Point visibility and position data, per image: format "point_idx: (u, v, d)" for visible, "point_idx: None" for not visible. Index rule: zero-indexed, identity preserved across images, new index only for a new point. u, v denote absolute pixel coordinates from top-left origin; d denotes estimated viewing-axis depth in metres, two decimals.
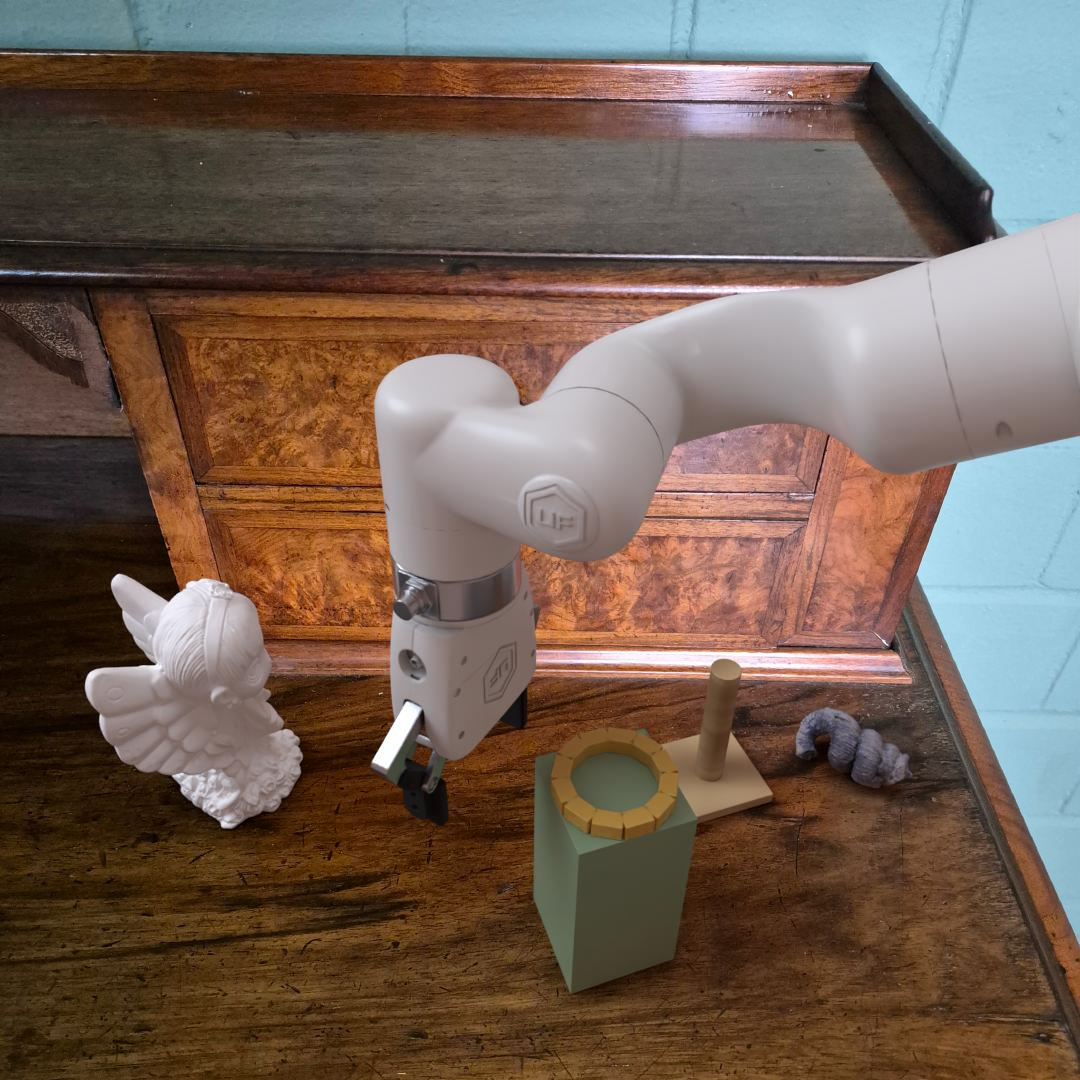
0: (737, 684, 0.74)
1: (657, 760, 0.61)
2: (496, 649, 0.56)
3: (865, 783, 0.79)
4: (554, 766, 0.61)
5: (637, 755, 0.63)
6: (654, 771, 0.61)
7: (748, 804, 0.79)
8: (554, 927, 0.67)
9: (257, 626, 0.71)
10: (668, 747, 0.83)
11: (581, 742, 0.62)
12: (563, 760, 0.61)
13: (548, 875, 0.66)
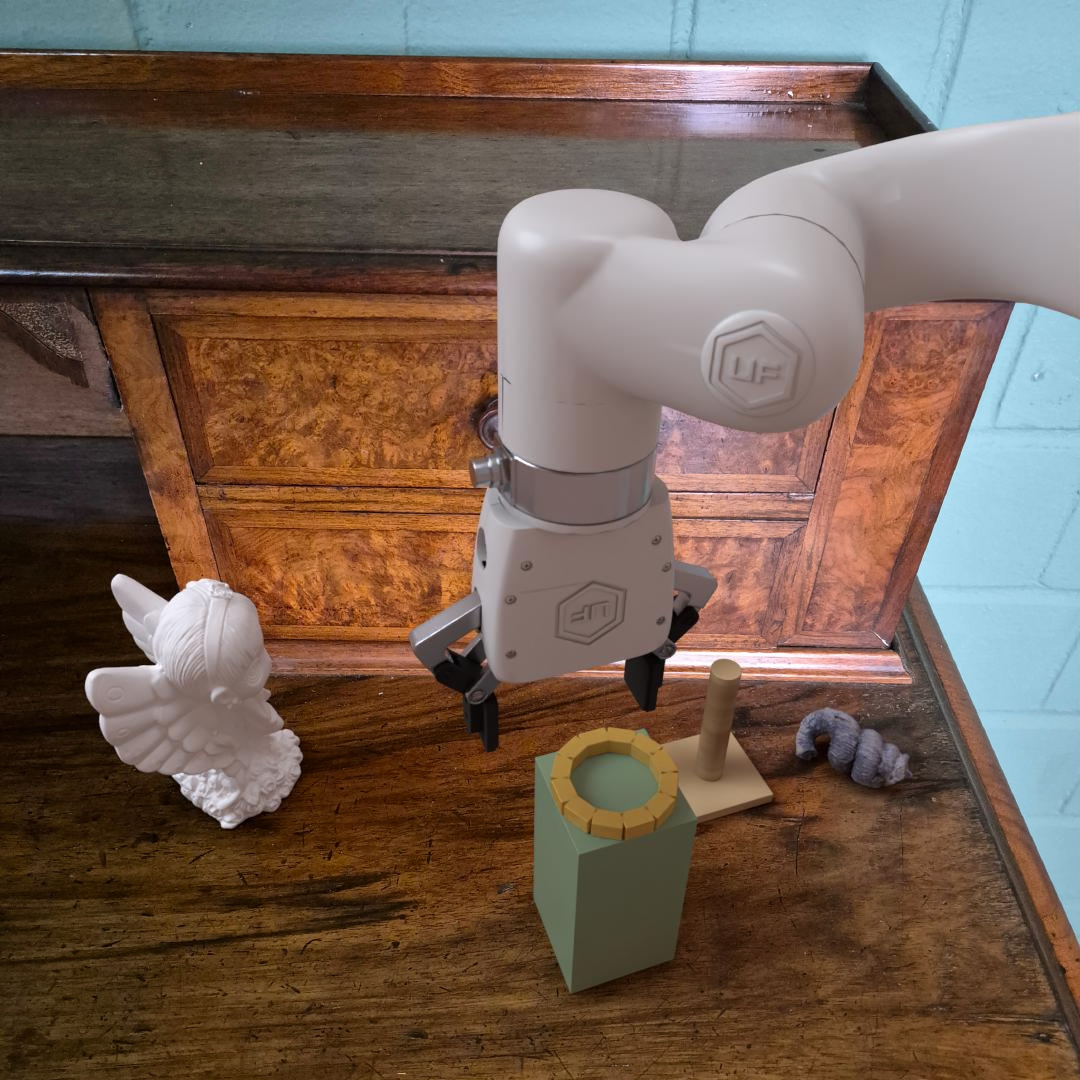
0: (737, 684, 0.74)
1: (657, 760, 0.61)
2: (586, 580, 0.46)
3: (865, 783, 0.79)
4: (554, 766, 0.61)
5: (637, 755, 0.63)
6: (654, 771, 0.61)
7: (748, 804, 0.79)
8: (554, 927, 0.67)
9: (257, 626, 0.71)
10: (668, 747, 0.83)
11: (581, 742, 0.62)
12: (563, 760, 0.61)
13: (548, 875, 0.66)
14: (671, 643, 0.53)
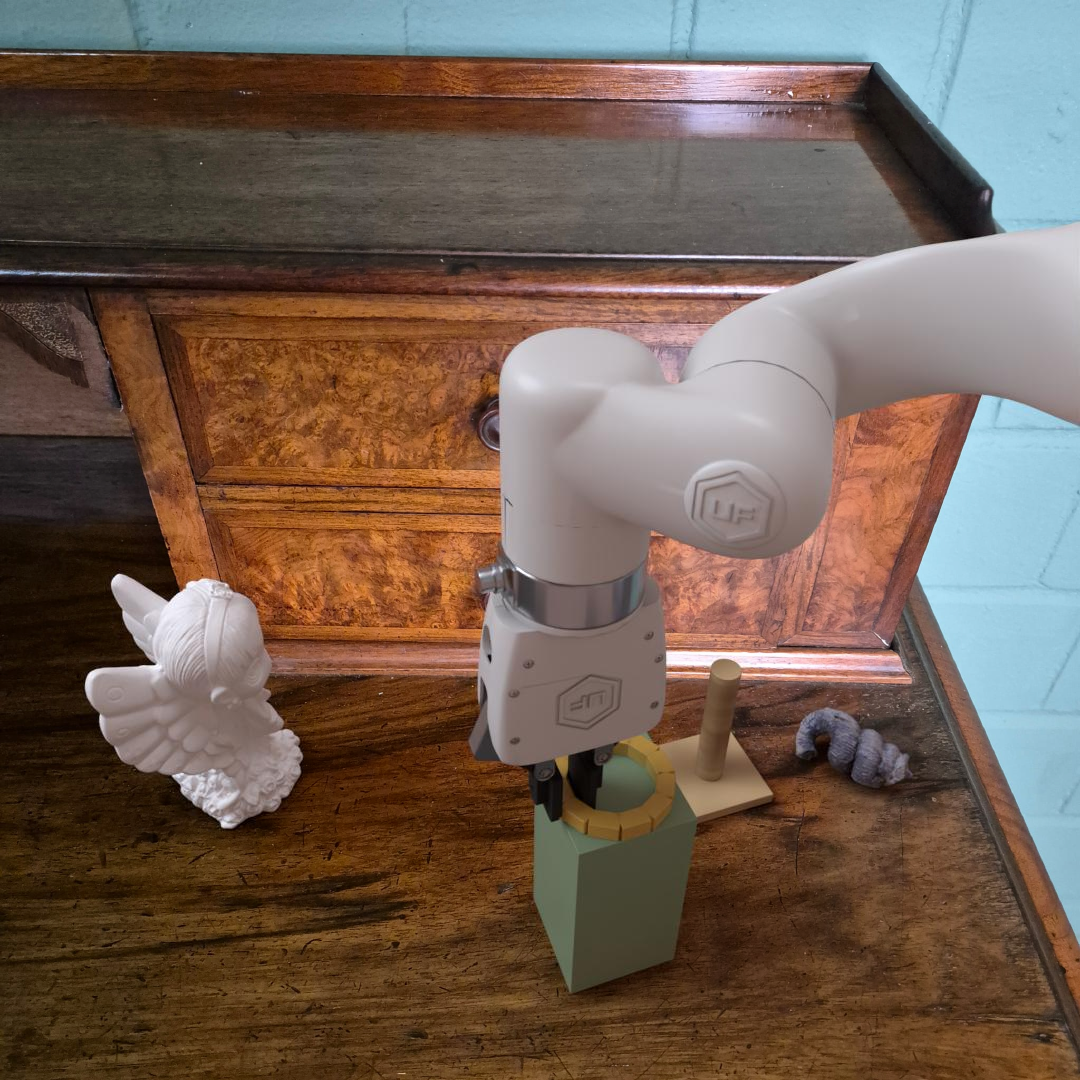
0: (737, 684, 0.74)
1: (654, 761, 0.61)
2: (583, 674, 0.50)
3: (865, 783, 0.79)
4: None
5: (634, 756, 0.63)
6: (651, 772, 0.61)
7: (748, 804, 0.79)
8: (554, 927, 0.67)
9: (257, 626, 0.71)
10: (668, 747, 0.83)
11: None
12: (560, 761, 0.61)
13: (548, 875, 0.66)
14: (606, 751, 0.56)
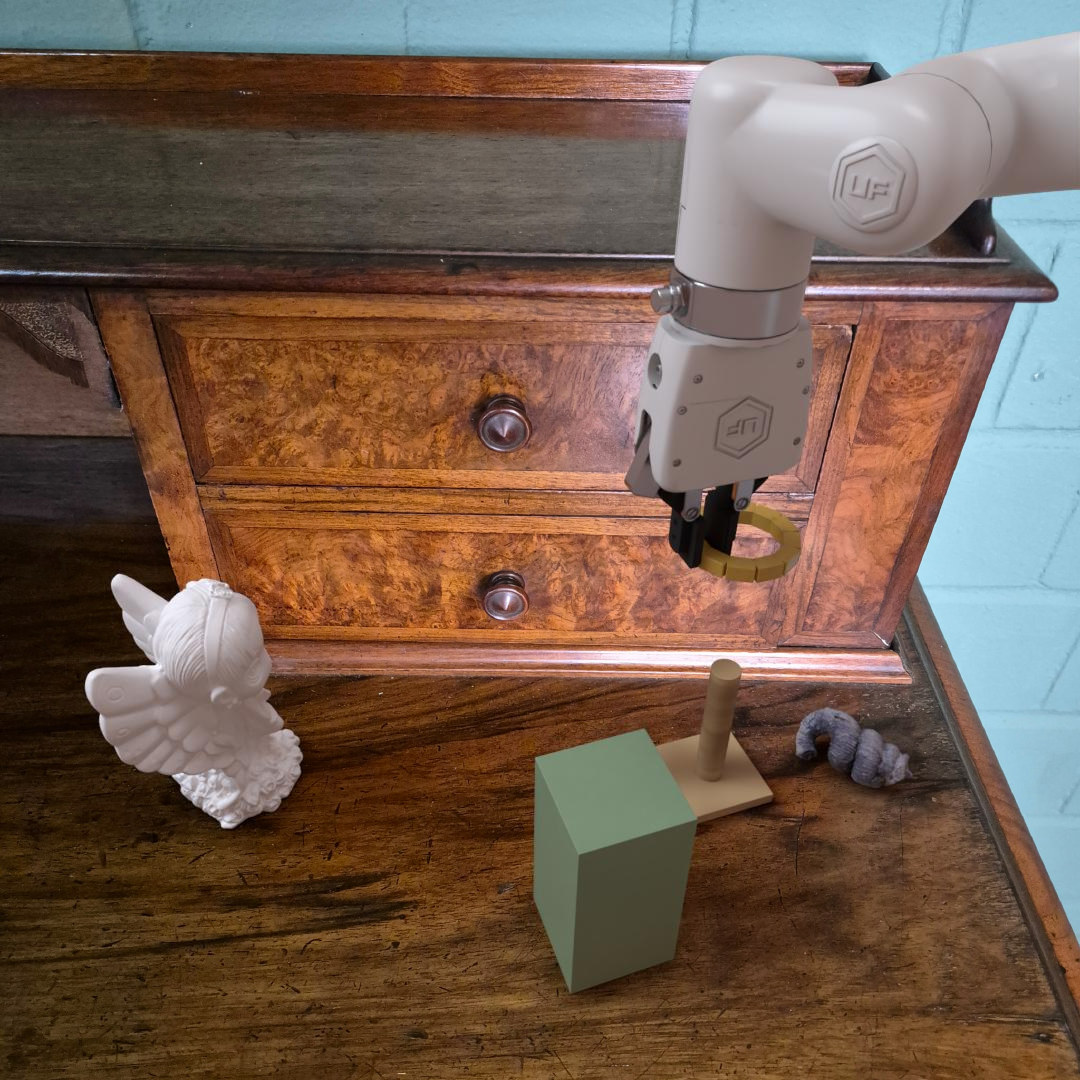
0: (737, 684, 0.74)
1: (779, 523, 0.67)
2: (743, 395, 0.55)
3: (865, 783, 0.79)
4: None
5: (758, 523, 0.68)
6: (776, 534, 0.67)
7: (748, 804, 0.79)
8: (554, 927, 0.67)
9: (257, 626, 0.71)
10: (668, 747, 0.83)
11: None
12: None
13: (548, 875, 0.66)
14: (746, 496, 0.62)
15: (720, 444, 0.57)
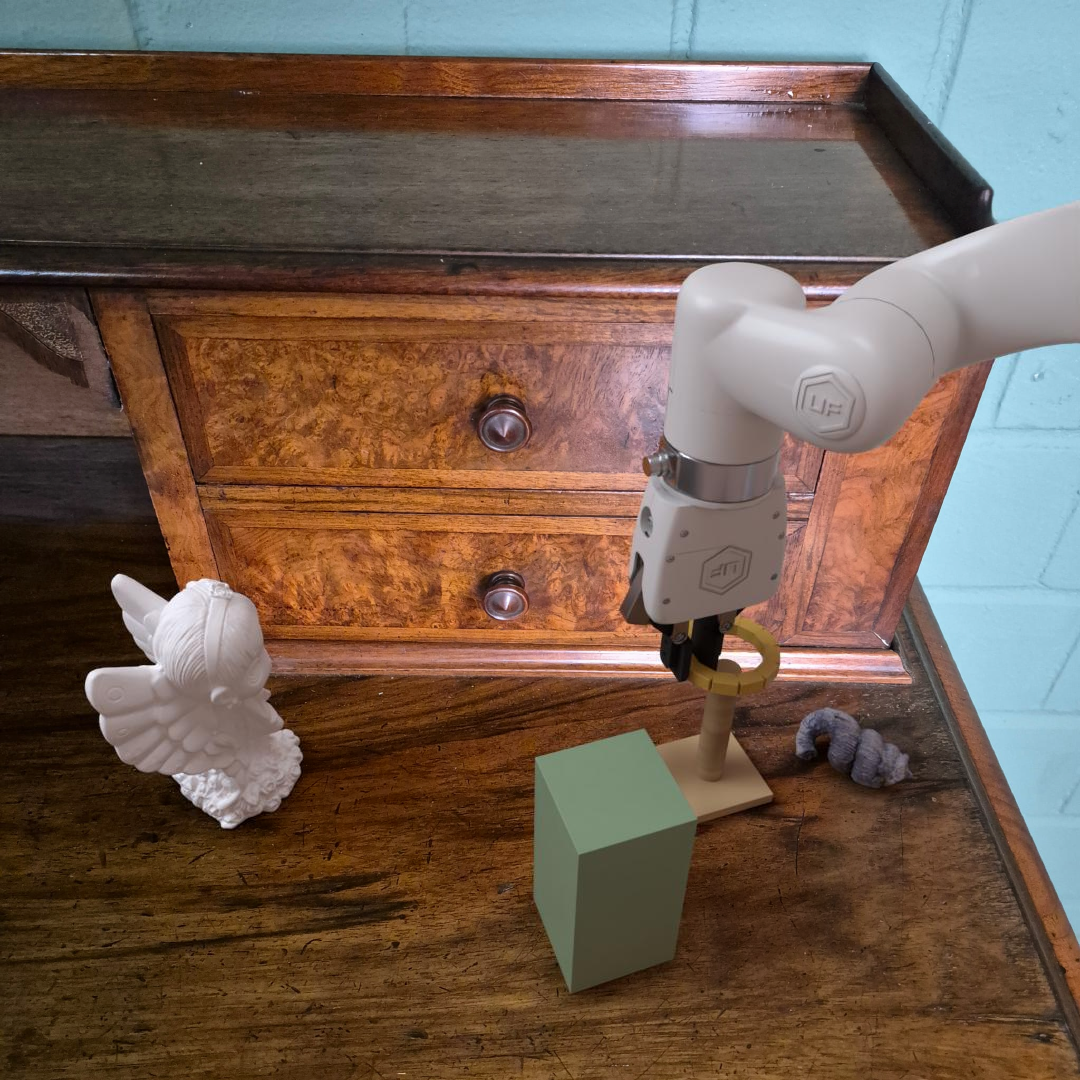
0: None
1: (761, 637, 0.74)
2: (724, 544, 0.62)
3: (865, 783, 0.79)
4: None
5: (742, 635, 0.75)
6: (758, 646, 0.74)
7: (748, 804, 0.79)
8: (554, 927, 0.67)
9: (257, 626, 0.71)
10: (668, 747, 0.83)
11: None
12: None
13: (548, 875, 0.66)
14: (730, 620, 0.69)
15: (705, 584, 0.64)
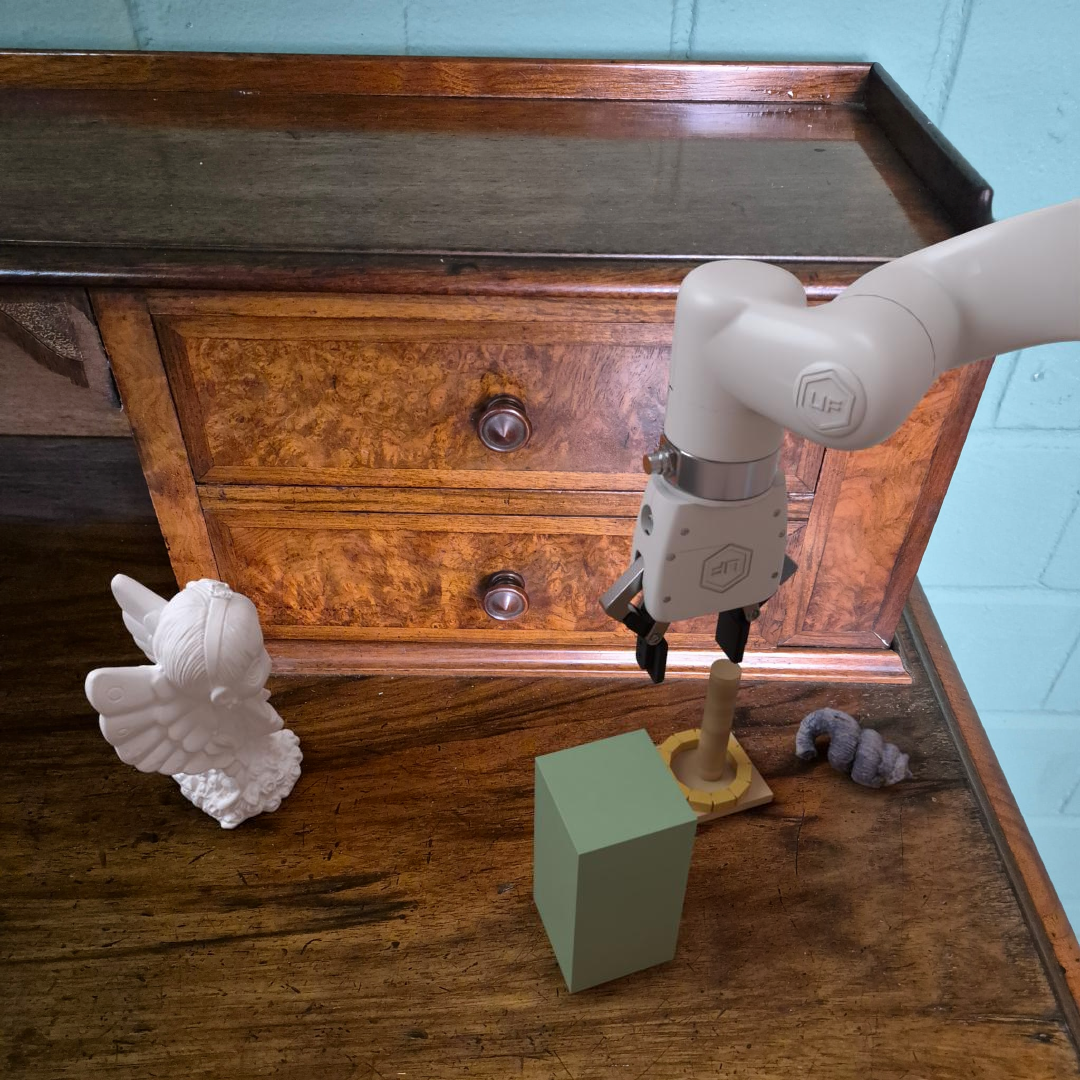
0: (737, 684, 0.74)
1: (735, 754, 0.81)
2: (725, 542, 0.62)
3: (865, 783, 0.79)
4: None
5: None
6: (732, 763, 0.81)
7: (748, 804, 0.79)
8: (554, 927, 0.67)
9: (257, 626, 0.71)
10: None
11: (676, 740, 0.82)
12: (664, 753, 0.81)
13: (548, 875, 0.66)
14: (757, 609, 0.69)
15: (705, 582, 0.64)
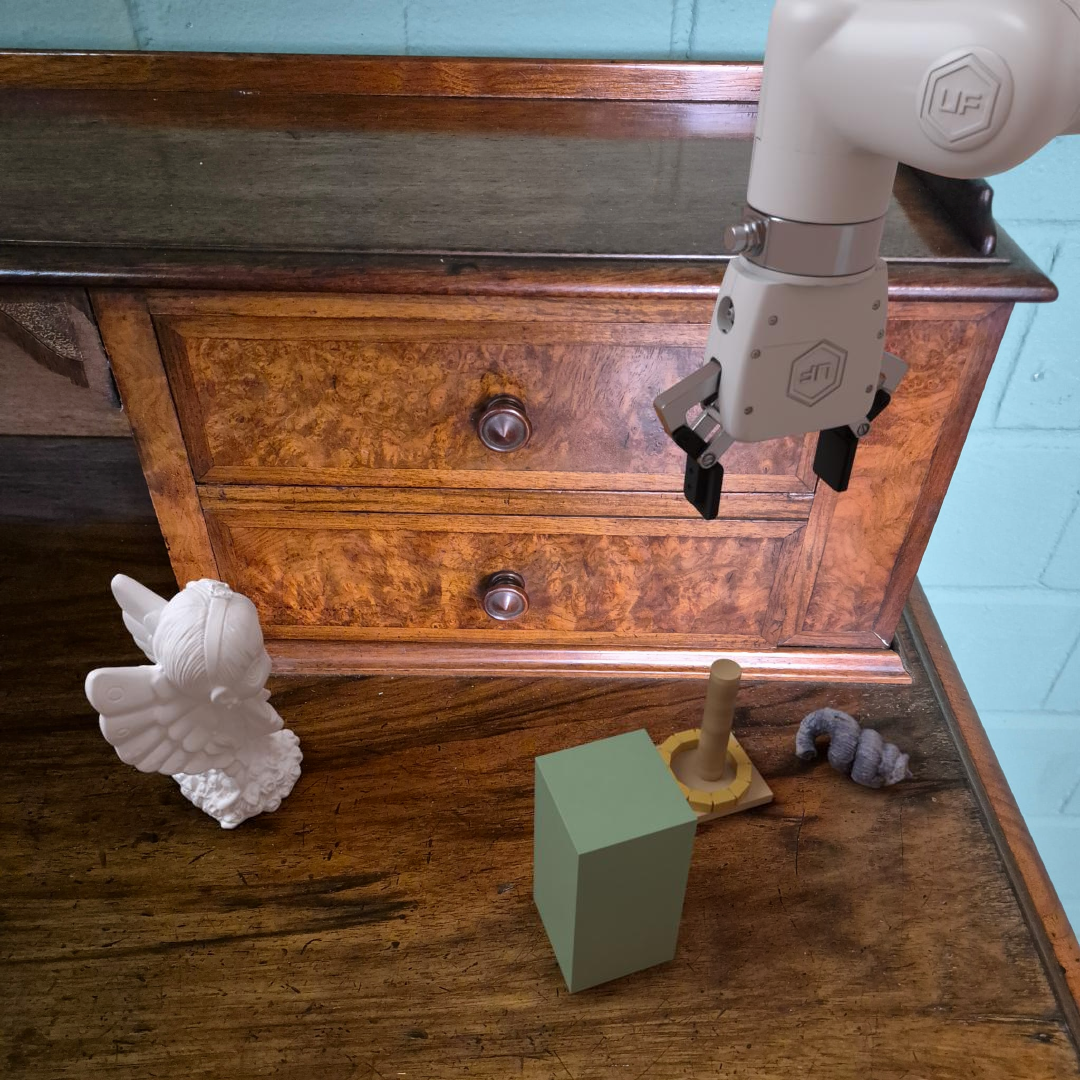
0: (737, 684, 0.74)
1: (735, 754, 0.81)
2: (817, 338, 0.53)
3: (865, 783, 0.79)
4: None
5: None
6: (732, 763, 0.81)
7: (748, 804, 0.79)
8: (554, 927, 0.67)
9: (257, 626, 0.71)
10: None
11: (676, 740, 0.82)
12: (664, 753, 0.81)
13: (548, 875, 0.66)
14: (867, 421, 0.60)
15: (793, 391, 0.55)
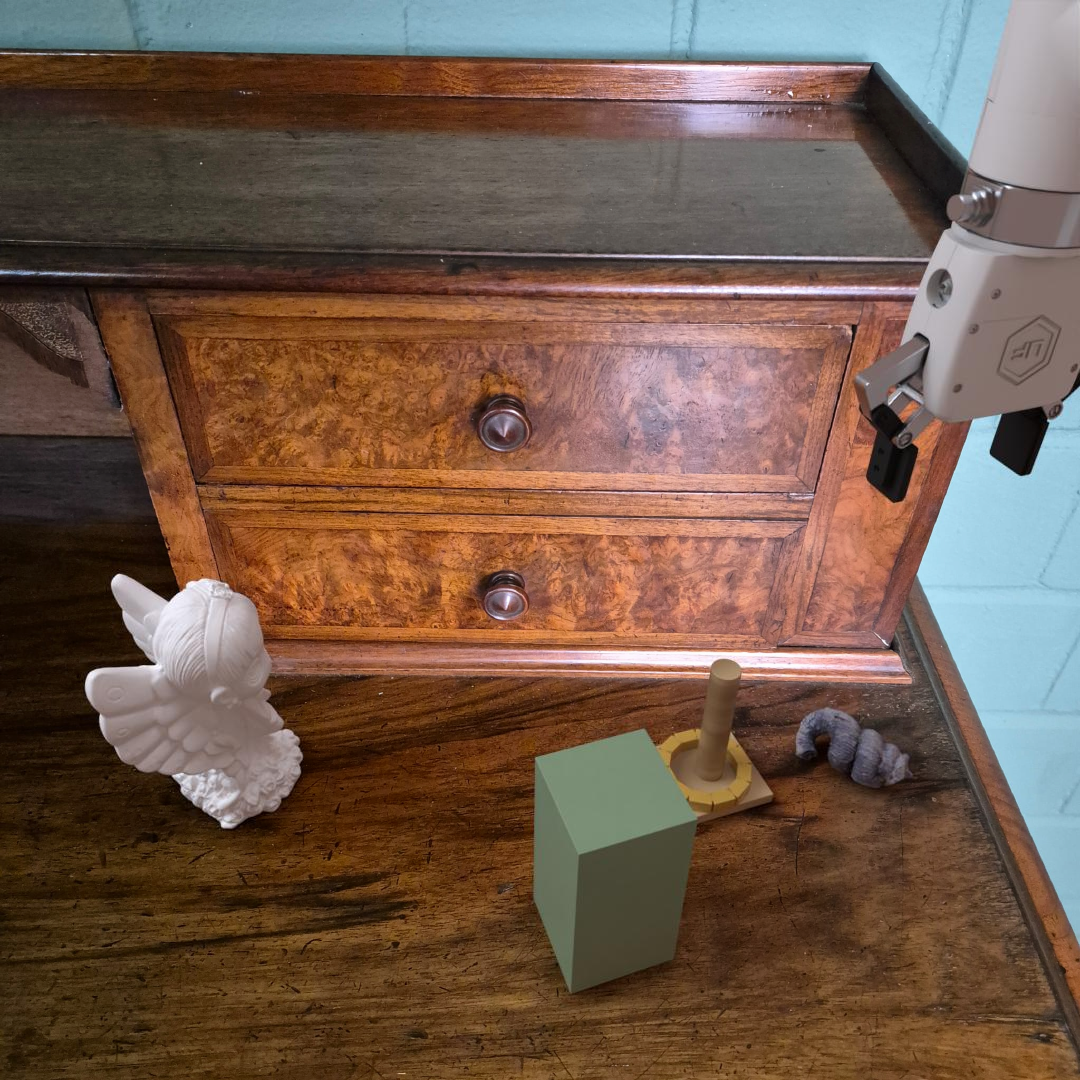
0: (737, 684, 0.74)
1: (735, 754, 0.81)
2: (1036, 313, 0.52)
3: (865, 783, 0.79)
4: None
5: None
6: (732, 763, 0.81)
7: (748, 804, 0.79)
8: (554, 927, 0.67)
9: (257, 626, 0.71)
10: None
11: (676, 740, 0.82)
12: (664, 753, 0.81)
13: (548, 875, 0.66)
14: (1060, 403, 0.59)
15: (1003, 368, 0.53)
